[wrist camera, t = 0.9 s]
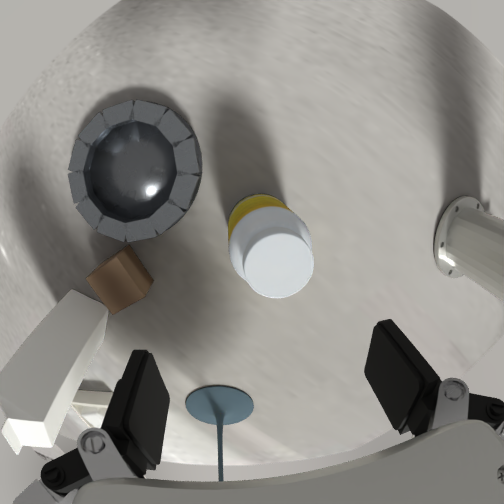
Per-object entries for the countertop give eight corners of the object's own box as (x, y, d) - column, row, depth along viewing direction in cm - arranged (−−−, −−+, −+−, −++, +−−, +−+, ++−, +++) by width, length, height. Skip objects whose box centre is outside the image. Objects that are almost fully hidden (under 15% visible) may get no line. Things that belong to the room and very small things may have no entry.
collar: (191, 87, 23) (188, 82, 21) (213, 224, 28) (212, 229, 26) (68, 126, 22) (59, 125, 20) (93, 247, 27) (85, 254, 25)
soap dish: (113, 392, 36) (108, 405, 33) (144, 434, 40) (141, 446, 37) (72, 389, 35) (66, 401, 32) (105, 430, 40) (102, 441, 37)
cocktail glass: (167, 357, 33) (136, 534, 10) (292, 376, 36) (336, 532, 13) (161, 424, 39) (147, 545, 16) (258, 437, 42) (274, 551, 19)
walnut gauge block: (129, 244, 28) (116, 257, 24) (153, 280, 30) (145, 296, 26) (100, 264, 28) (85, 278, 25) (123, 297, 30) (112, 314, 26)
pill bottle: (217, 208, 27) (210, 244, 17) (275, 182, 27) (307, 200, 16) (244, 262, 30) (253, 323, 19) (298, 237, 29) (337, 285, 18)
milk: (69, 321, 31) (-7, 438, 10) (71, 287, 29) (-27, 408, 8) (105, 339, 32) (43, 472, 11) (111, 306, 30) (30, 450, 9)
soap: (134, 428, 39) (131, 440, 36) (115, 430, 39) (112, 442, 36) (101, 400, 36) (96, 412, 33) (83, 403, 36) (78, 415, 33)
